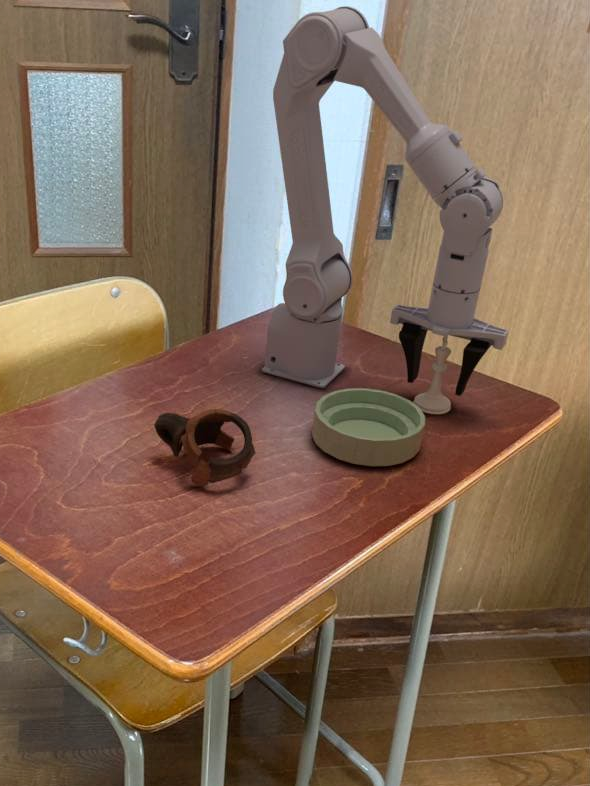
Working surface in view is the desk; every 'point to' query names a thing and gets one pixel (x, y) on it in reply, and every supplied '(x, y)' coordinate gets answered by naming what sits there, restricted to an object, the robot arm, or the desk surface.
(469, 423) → the desk surface
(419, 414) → the bowl
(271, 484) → the desk surface
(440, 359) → the chess piece
